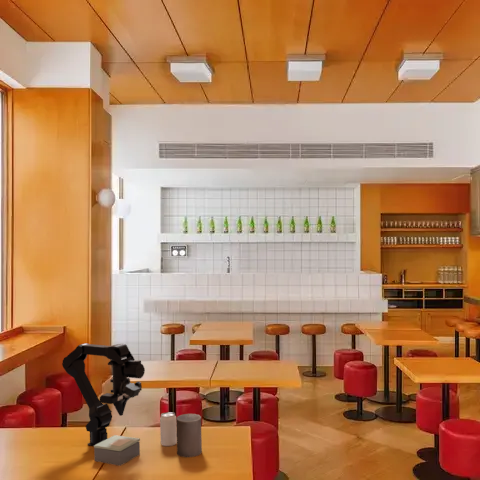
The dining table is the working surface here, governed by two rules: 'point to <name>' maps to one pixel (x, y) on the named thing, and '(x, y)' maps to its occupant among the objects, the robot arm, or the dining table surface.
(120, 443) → the lid
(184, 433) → the pillar candle
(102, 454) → the storage box
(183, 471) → the dining table surface
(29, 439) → the dining table surface
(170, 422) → the can
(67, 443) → the dining table surface
